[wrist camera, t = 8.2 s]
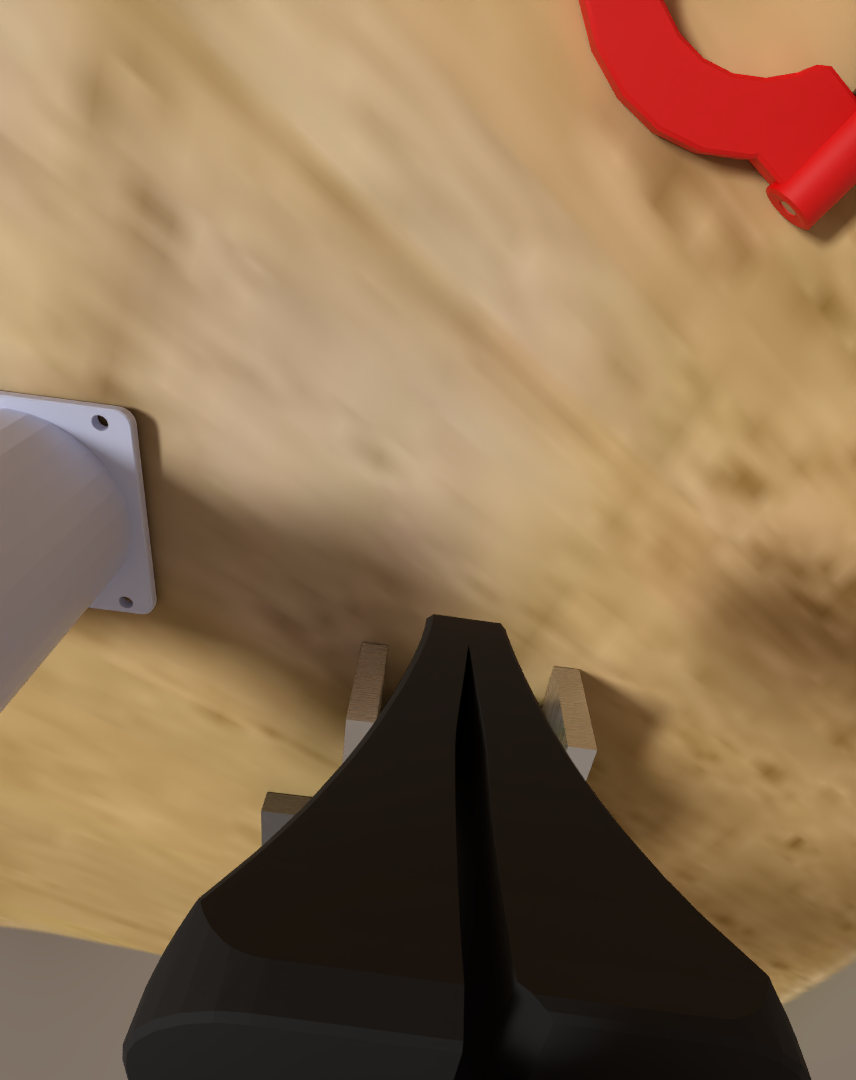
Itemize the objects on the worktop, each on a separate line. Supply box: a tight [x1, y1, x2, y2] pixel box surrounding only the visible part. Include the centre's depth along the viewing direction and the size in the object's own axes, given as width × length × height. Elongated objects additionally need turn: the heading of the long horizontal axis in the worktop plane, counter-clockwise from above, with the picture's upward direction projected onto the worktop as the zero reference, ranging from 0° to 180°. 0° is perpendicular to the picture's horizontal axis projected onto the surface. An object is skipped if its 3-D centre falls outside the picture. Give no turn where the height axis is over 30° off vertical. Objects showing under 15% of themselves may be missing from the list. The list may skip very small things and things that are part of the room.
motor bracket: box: [261, 643, 597, 846], centre depth 27 cm, size 16×16×6 cm
